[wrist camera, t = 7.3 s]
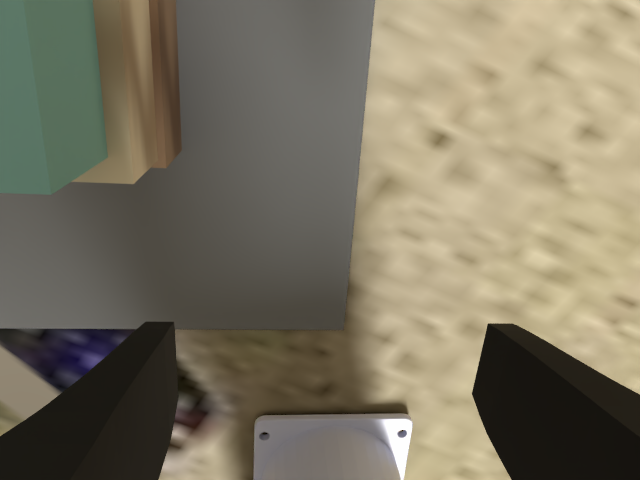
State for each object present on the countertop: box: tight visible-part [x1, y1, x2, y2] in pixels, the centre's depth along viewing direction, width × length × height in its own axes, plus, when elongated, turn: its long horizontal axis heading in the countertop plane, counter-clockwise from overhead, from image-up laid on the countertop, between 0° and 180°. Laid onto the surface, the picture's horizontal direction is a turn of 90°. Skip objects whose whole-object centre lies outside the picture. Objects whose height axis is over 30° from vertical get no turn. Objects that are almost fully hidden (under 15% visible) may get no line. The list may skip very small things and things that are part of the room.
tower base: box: [149, 0, 182, 168], centre depth 16 cm, size 6×6×3 cm
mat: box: [0, 0, 375, 330], centre depth 18 cm, size 18×16×1 cm
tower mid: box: [71, 0, 158, 184], centre depth 13 cm, size 6×6×3 cm
